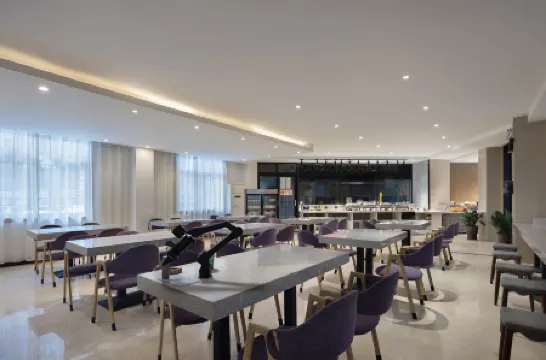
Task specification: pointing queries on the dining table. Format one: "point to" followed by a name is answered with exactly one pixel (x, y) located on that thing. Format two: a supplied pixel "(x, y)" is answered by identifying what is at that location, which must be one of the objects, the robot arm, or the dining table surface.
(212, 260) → the food container
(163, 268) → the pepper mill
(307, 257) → the dining table surface
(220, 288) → the dining table surface
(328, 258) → the dining table surface
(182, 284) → the placemat
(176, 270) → the walnut holder
